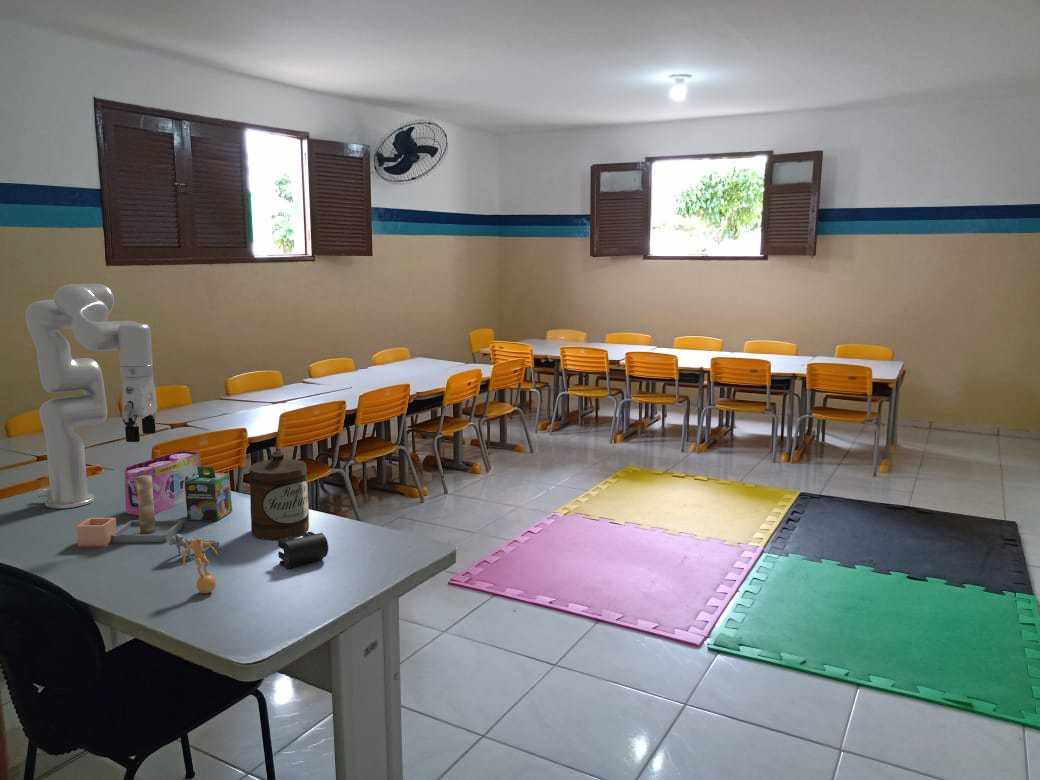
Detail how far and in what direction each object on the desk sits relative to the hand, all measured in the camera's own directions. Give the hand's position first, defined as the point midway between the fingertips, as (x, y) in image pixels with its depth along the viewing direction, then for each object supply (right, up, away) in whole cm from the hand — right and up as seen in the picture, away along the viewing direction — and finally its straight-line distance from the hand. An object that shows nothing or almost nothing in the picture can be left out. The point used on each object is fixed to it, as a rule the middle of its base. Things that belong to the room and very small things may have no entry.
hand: (141, 437), depth 201 cm
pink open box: (-10, -27, -2) cm, 29 cm away
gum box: (-7, -22, +30) cm, 38 cm away
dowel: (0, -25, +4) cm, 26 cm away
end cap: (+46, -30, -14) cm, 56 cm away
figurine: (+29, -32, -31) cm, 53 cm away
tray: (0, -26, +4) cm, 26 cm away
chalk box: (+10, -24, +20) cm, 32 cm away
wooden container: (+34, -26, +8) cm, 43 cm away
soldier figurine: (+18, -29, -10) cm, 35 cm away
